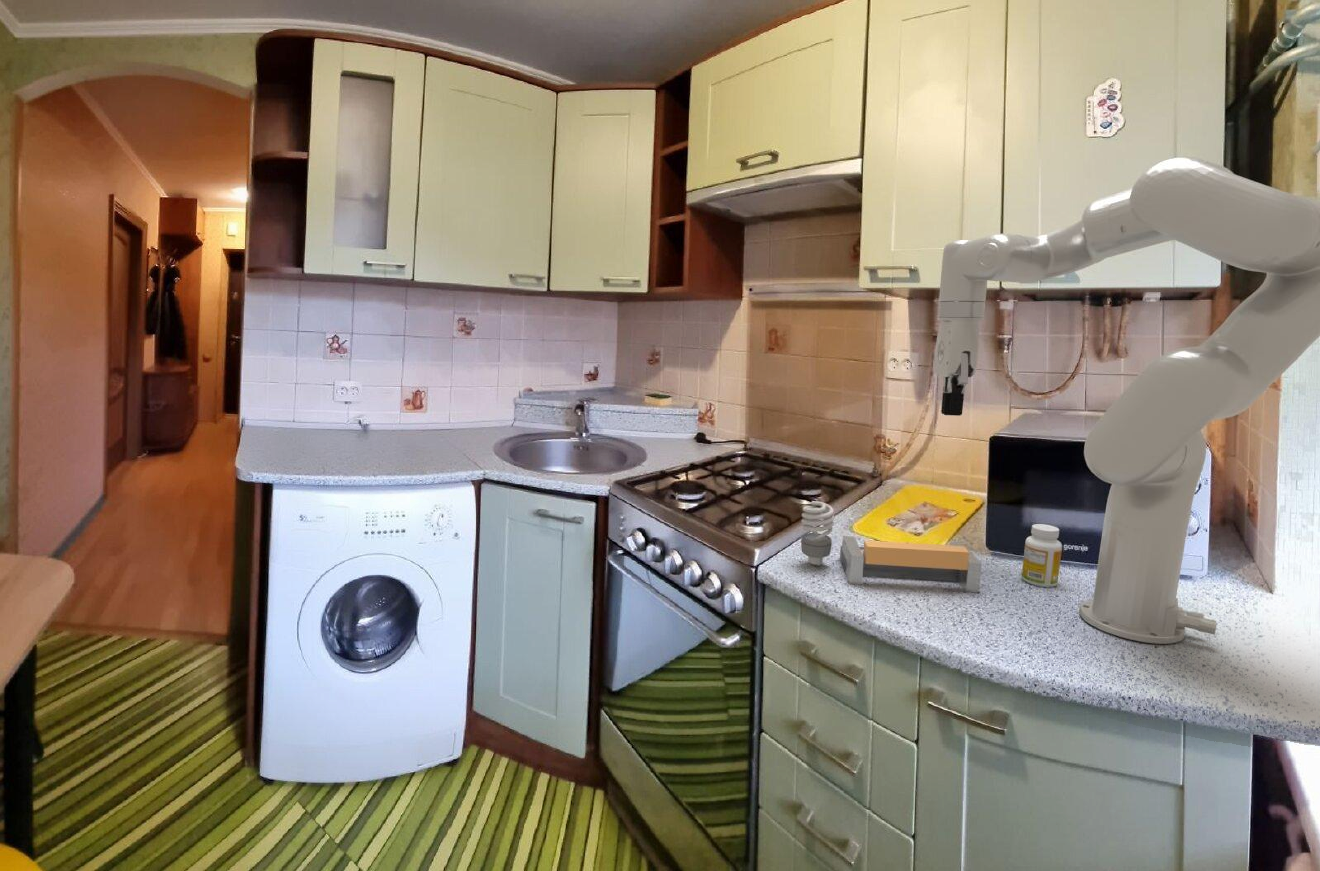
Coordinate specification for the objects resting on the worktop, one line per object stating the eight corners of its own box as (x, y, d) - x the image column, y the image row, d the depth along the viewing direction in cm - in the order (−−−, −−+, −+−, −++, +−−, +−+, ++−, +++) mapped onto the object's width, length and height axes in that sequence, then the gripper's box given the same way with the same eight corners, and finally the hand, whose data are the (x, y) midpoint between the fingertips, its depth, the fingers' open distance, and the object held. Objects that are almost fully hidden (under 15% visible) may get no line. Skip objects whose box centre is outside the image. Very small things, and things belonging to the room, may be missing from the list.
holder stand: (955, 565, 117) (958, 539, 116) (978, 592, 105) (981, 563, 105) (839, 558, 120) (841, 532, 119) (849, 583, 108) (851, 555, 107)
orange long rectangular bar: (961, 563, 107) (963, 546, 107) (967, 570, 104) (969, 552, 104) (862, 557, 109) (864, 540, 109) (865, 563, 107) (867, 546, 106)
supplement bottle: (1047, 576, 113) (1054, 523, 111) (1063, 588, 107) (1070, 533, 106) (1015, 574, 113) (1021, 521, 112) (1029, 587, 108) (1036, 531, 106)
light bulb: (795, 560, 119) (798, 497, 117) (824, 559, 119) (828, 496, 117) (805, 572, 113) (808, 506, 111) (835, 571, 114) (839, 505, 112)
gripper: (927, 313, 122) (919, 408, 125) (951, 311, 108) (941, 420, 111) (969, 313, 121) (959, 410, 124) (999, 312, 107) (987, 421, 110)
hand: (951, 414), depth 118 cm, fingers closed
